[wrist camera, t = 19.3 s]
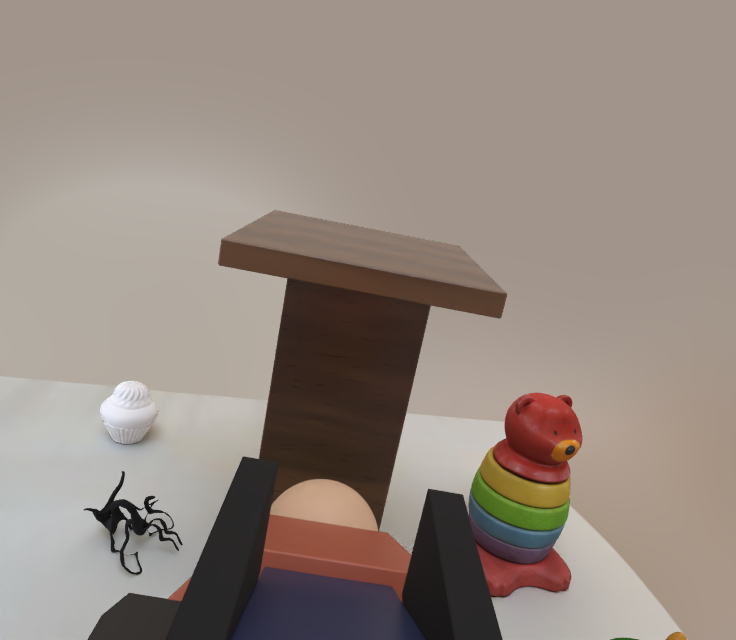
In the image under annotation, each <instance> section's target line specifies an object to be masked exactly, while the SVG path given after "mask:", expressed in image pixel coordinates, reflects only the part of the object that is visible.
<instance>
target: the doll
mask: <svg viewBox="0 0 736 640" xmlns="http://www.w3.org/2000/svg"><path fill="white" fill-rule="evenodd" d="M410 559H411V554H410V553H408V552H407V551H406V550H405V549H404V548H403V547H402V546H401V545H400V544H399V543H398V542H397V541H396V540H395V539H393V538H392V537H391V536H390V535H389V534H388V533H384V532H378V527H377V523H376V520H375V517H374V515H373V513H372V510H371V509H370V507H369V505H368V504H367V503H366V501H365V500H364V499H363V498H362V497H361V496H360V495H359V494H358V493H357V492H356V491H355V490H353V489H352V488H350V487H349V486H347V485H345V484H343V483H340V482H337V481H333V480H328V479H313V480H307V481H304V482H301V483H298V484H296V485H294V486H292V487H291V488H289V489H287V490H286V491H285V492H283V493H282V494H281V495H280V496H279V497H278V498H277V499H276V500H275V501H274V502H273V504H272V505H271V511H270V517H269V523H268V528H267V534H266V540H265V546H264V552H263V558H262V564H261V570H260V574H259V577H258V581H257V583H256V585H255V587H254V589H253V591H252V594H251V596H250V598H249V600H248V602H247V604H246V606H245V608H244V610H243V613H242V615H241V617H240V619H239V621H238V623H237V625H236V627H235V629H234V632H233V634H232V636H231V638H230V640H426V639H425V637H424V636H423V634H422V632H421V631H420V629H419V628H418V626H417V625H416V623H415V622H414V620H413V618H412V617H411V615H410V614H409V612H408V611H407V609H406V608H405V606H404V604H403V602H402V591H403V587H404V583H405V579H406V575H407V571H408V567H409V563H410ZM190 580H191V578H190V579H188V580H187V581H186V582H185V583H184V584H183V585H182V586H181V587H180V588H179V589H178V590H177V591H176V592H174V593H173V594H172V595H171V596H170V597H169V598H168V599H170V600H176V601H182V598H183V596H184V594H185V591H186V589H187V587H188V584H189V582H190Z"/></svg>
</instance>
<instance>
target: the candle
mask: <svg viewBox="0 0 736 640" xmlns="http://www.w3.org/2000/svg"><path fill="white" fill-rule="evenodd" d="M611 640H638V639H632V638H615V639H611ZM666 640H687V639H686V637H685V635H684V634H683V633H680V632H675V633H672V634H671V635H669V636H668V637H667V639H666Z"/></svg>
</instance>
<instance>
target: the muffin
mask: <svg viewBox="0 0 736 640" xmlns="http://www.w3.org/2000/svg"><path fill="white" fill-rule="evenodd" d="M148 392H149V391H148V389H147V387H146V386H145V385H144V384H143V383H141V382H136V381H126V382H122V383H121V384H119V385H118V386H117V387H116V389H115V390H114V393H113V394H112V396H110V397H109V398H107V399H106V400H105V401H104V402H103V404H102V406H101V409H100V413H101V416H102V418H103V422H104V424H105V426H106V428H107V430H108V431H109V433H110V435H111V437H112V439H113V440H114V441H116V442H118V443H123V444H133V443H136V442H138V441H140V440H142V438H143V437H144V435H145V434H146V433H147V431H148V430H149V429H150V427H151V426H152V424H153V423H154V420H155V418H156V417H157V415H158V412H159V408H158V405H157V403H156V402H155V401H154V400H153V399H152V398H151V396H150V395H149V394H148Z"/></svg>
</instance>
